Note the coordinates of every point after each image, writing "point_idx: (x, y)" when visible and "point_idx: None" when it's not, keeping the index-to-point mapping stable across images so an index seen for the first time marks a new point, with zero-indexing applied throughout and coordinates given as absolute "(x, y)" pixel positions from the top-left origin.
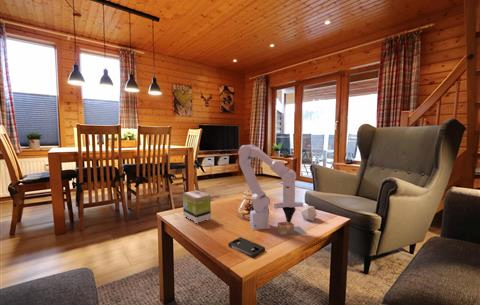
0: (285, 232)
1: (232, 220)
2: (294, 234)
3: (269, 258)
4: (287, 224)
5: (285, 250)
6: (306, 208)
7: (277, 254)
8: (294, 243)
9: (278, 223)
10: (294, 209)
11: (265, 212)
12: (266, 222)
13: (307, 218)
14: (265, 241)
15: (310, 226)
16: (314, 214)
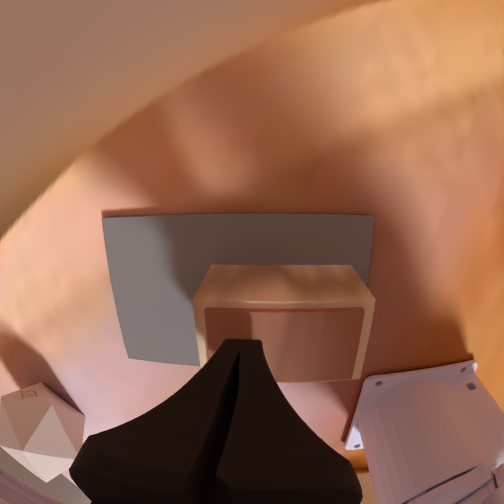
0: (302, 267)
1: None
2: (222, 225)
3: (496, 2)
4: (279, 313)
5: (405, 12)
6: (36, 458)
7: (459, 4)
8: (296, 72)
9: (359, 364)
10: (96, 464)
11: (448, 476)
12: (408, 412)
13: (57, 404)
14: (492, 183)
15: (58, 334)
16: (9, 399)
